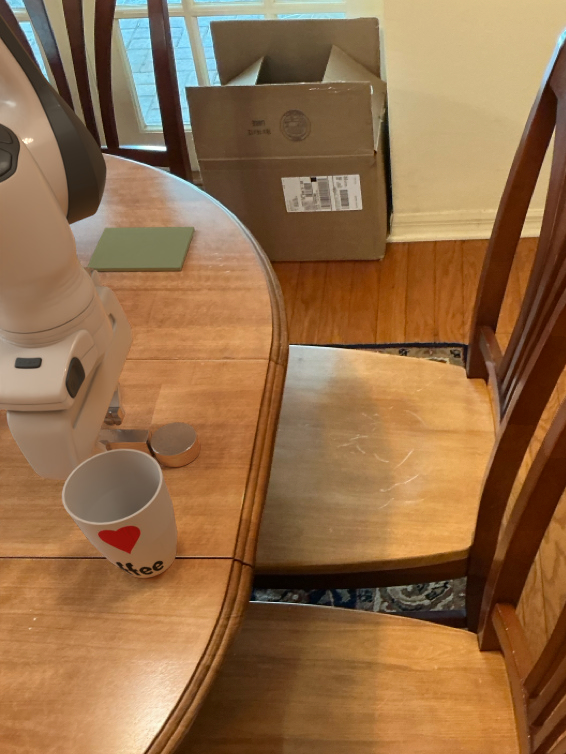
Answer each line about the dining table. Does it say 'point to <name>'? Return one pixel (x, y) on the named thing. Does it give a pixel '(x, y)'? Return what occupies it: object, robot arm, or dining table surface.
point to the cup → (124, 510)
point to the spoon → (158, 442)
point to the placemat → (142, 249)
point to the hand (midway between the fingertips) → (110, 438)
